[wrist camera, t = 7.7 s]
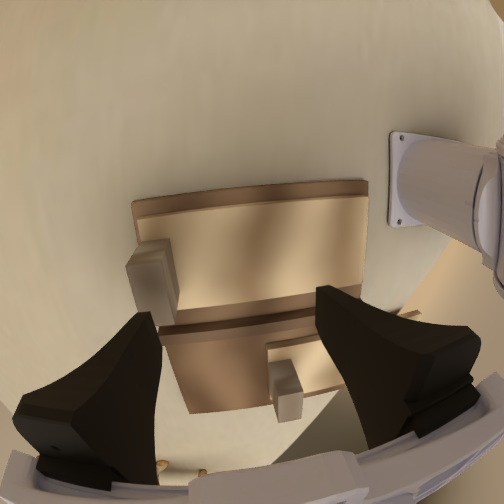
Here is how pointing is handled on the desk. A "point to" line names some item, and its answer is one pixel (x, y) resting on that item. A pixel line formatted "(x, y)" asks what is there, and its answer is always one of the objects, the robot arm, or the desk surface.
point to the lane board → (238, 312)
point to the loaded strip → (302, 372)
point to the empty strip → (246, 253)
